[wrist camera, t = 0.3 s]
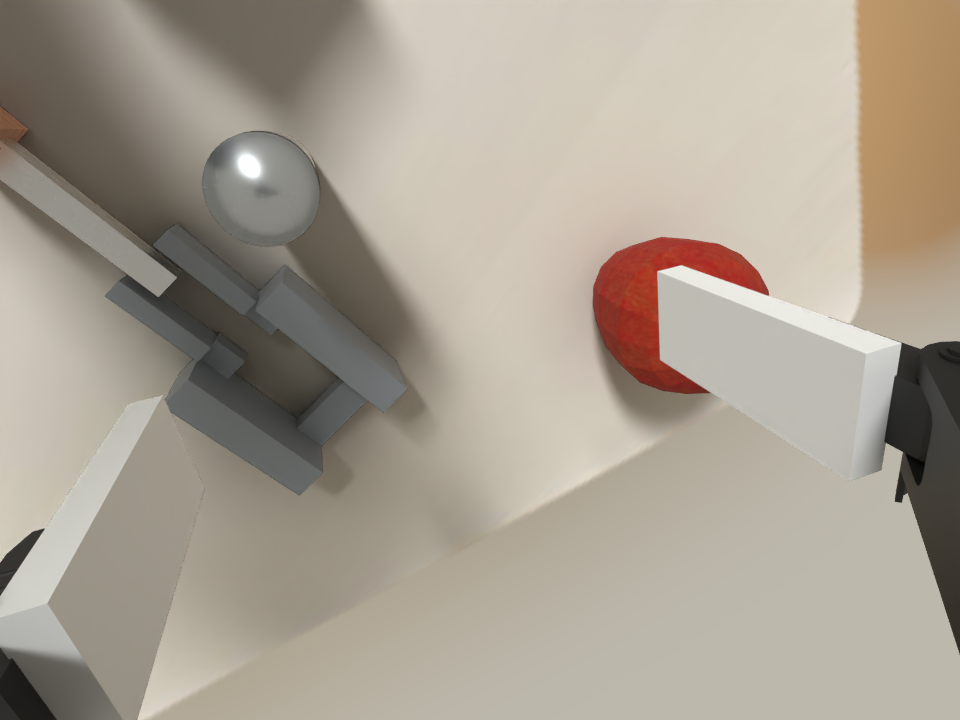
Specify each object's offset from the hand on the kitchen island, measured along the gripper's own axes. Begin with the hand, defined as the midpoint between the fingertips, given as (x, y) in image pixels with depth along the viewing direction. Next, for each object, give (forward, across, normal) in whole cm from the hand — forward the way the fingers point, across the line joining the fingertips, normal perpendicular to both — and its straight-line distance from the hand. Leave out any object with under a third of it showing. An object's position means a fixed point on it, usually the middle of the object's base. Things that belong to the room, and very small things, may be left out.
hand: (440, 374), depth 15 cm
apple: (+25, +18, -8) cm, 32 cm away
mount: (+24, -8, -5) cm, 26 cm away
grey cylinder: (+24, -4, +4) cm, 25 cm away
